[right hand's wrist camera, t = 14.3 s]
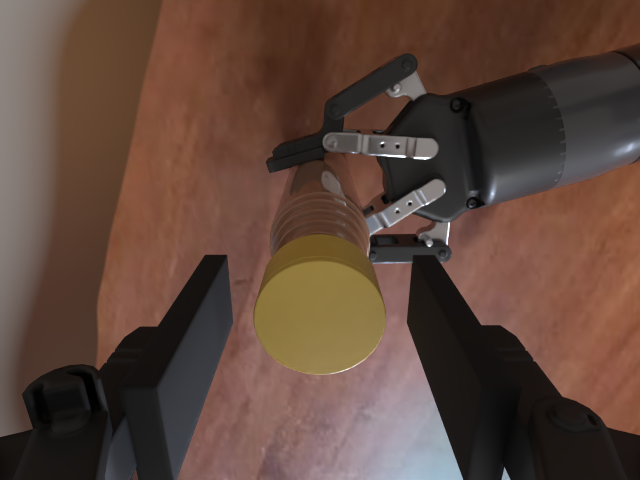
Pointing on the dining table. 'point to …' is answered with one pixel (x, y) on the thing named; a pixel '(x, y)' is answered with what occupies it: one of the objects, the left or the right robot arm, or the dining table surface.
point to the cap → (319, 306)
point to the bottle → (320, 205)
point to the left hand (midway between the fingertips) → (282, 202)
